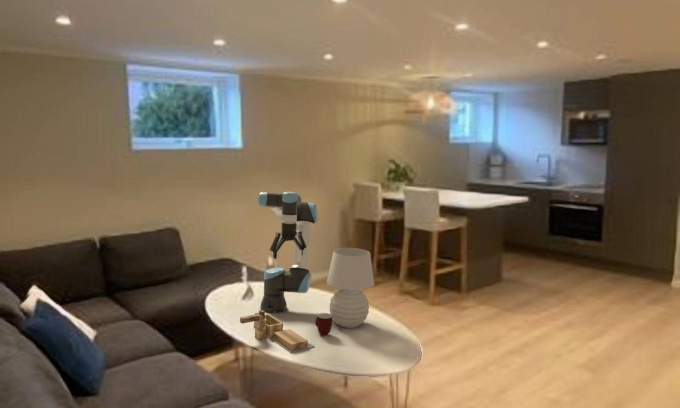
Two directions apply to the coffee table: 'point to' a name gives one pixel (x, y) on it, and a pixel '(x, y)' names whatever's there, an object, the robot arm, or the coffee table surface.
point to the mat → (293, 350)
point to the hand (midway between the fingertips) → (287, 263)
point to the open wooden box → (267, 326)
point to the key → (252, 317)
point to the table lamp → (350, 286)
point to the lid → (290, 339)
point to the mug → (324, 323)
